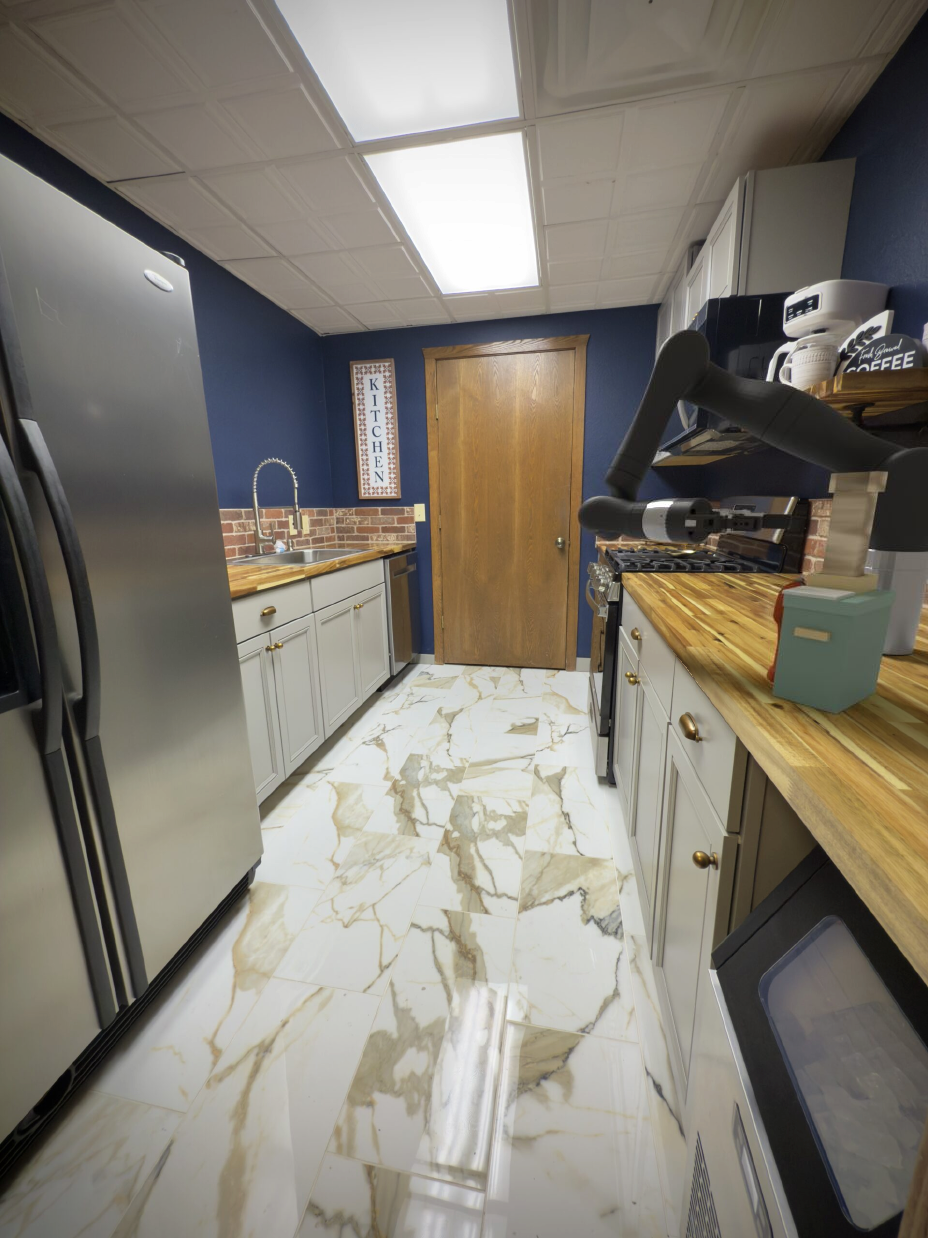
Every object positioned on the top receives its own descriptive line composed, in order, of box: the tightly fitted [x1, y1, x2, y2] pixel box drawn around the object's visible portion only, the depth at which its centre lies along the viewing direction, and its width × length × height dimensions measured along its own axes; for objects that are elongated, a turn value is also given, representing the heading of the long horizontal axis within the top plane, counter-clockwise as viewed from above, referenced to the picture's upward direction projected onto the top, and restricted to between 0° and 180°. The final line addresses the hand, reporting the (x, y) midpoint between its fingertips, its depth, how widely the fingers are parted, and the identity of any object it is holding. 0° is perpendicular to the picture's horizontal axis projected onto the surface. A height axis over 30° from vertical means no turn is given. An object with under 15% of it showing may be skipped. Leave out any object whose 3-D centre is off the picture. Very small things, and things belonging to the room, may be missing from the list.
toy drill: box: [766, 576, 806, 684], centre depth 75 cm, size 5×19×15 cm, turn 142°
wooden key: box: [821, 471, 888, 578], centre depth 64 cm, size 4×5×15 cm
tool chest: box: [771, 570, 896, 715], centre depth 65 cm, size 14×8×16 cm, turn 123°
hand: (776, 522), depth 71 cm, fingers open, 8 cm apart
